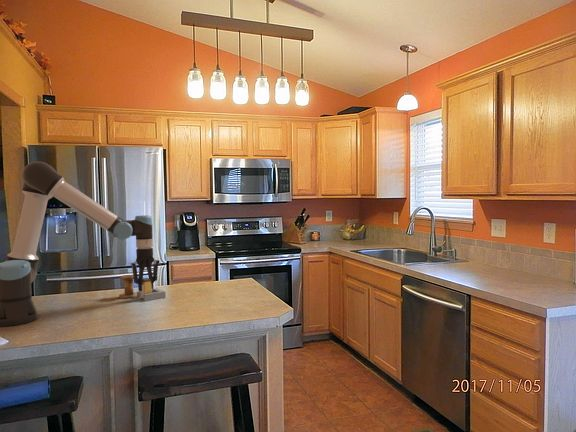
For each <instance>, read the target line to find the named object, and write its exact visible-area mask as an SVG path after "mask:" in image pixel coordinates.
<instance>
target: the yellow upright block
mask: <svg viewBox="0 0 576 432" xmlns="http://www.w3.org/2000/svg"><path fill="white" fill-rule="evenodd" d="M142 284H144V294H149V293H151V279H149V277H148V278H147V277H143V281H142Z"/></svg>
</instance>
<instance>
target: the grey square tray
mask: <svg viewBox="0 0 576 432" xmlns="http://www.w3.org/2000/svg"><path fill="white" fill-rule="evenodd" d="M136 293H137V297H136V298H137V299H141V296H140V291H139V290H137V291H136ZM166 295H167V294H166V291H165V290H164V289H163V290H162V289H160V288H157V287H156V288H153V289H152V293H149V294H144V298H143V301H144V302H149V301H155V300H159V299H160V300H161V299H165V298H166Z"/></svg>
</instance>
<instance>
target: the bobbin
mask: <svg viewBox="0 0 576 432" xmlns="http://www.w3.org/2000/svg"><path fill="white" fill-rule="evenodd" d="M119 280H122V281H123V282H124V283H123V285H124V293H120V294H118V298H119V299H122V300H123V299H124V300H126V299H135V298H137V292H135V291H134V278H133V274H125V275H120V276H119Z"/></svg>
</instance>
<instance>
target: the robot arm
mask: <svg viewBox="0 0 576 432" xmlns="http://www.w3.org/2000/svg"><path fill="white" fill-rule="evenodd" d="M21 176H22V180H23V185H22V189H21V192H22V193H23V195H24V200H23V204H22V208H21V213H20V216H19V221H18V226H17V231H16V235H15V238H14V239H15V240H14V243H13V247H12V251H11V252H10V253H7V255H6V260H5V261H3V262H0V327H10V326H17V325H18V326H19V325H23V324H28V323H30V322H33V321H36V320H37V319H38V316H39V315H38V310H37V308H36V305H35V304H34V301H33V299H32V297H33V295H32V283H33V282H34V281H35V279H36V277H37V274H38V265H39V261H40V260H39V256H38V255H37V250H38V247H39V246H38V245H39V243H40V242H39V241H40V236H41V232H42V228H43V224H44V219H45V215H46V210H47V205H48V201H49V200H50V199H52V198H55V199H57V200H58V201H60V202H62V203H63V204H64V205H66V206H68V207H69V208H71V209H73V210H74V211H76V212H77V213H79V214H80V215H82V216H83V217H85V218H86V219H88V220H89V221H91V222H93V223H95V224H96V225H98V226H100V228H103V230H105V231H106V232H107V235H108V237H110V238H117V239H118V240H121V241H123V240H126V239H129V238H130V237H135V248H136V249H135V251H136V258H135V261H133V262H131V263H130V266H131V269H132V275H133V278H134V279H133V284H136V285H138V286H137V287H138V290H137V291H140V296H141V298H142V299H144V284H142V281H143V278H144V270H145V269H146V272H147V276H148V278H149V279H151V293H152V289H154V283H155V282H156V281H158V271H159V264H160V260H159V259H158V260H157V259H155V258H154V248H153V247H154V243H153V242H154V241H153V236H154V235H153V217H152V216H151V215H147V214H146V215H143V214H142V215H136V216H135V217H134V219H131V220H129V219H127V220H124V219H123V218H121V217H119V216H118V215H117V214H115V213H113V212H112V211H111V210H109V209H107V208H106V207H104V206H103V205H102V204H100V203H98V202H97V201H95V200H94V199H93V198H91V197H89V196H88V195H86V194H85V193H83V192H82V191H81V190H79V189H77V188H76V187H74V186H73V185H72V184H69V182H66V181H65V178H64V177H63V176H62V175H61V174H59V173H58V172H57V171H56V169H55V168H54V167H53V166H52V165H50V164H48V163H46V162H45V161H37V160H36V161H32V162H29V163H28V164H26V165H25V166H24V168H23V170H22V175H21ZM152 264H153V268H152ZM137 265H138V267H137ZM138 269H139V270H138ZM152 269H153V270H152ZM141 298H140V299H141Z"/></svg>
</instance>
